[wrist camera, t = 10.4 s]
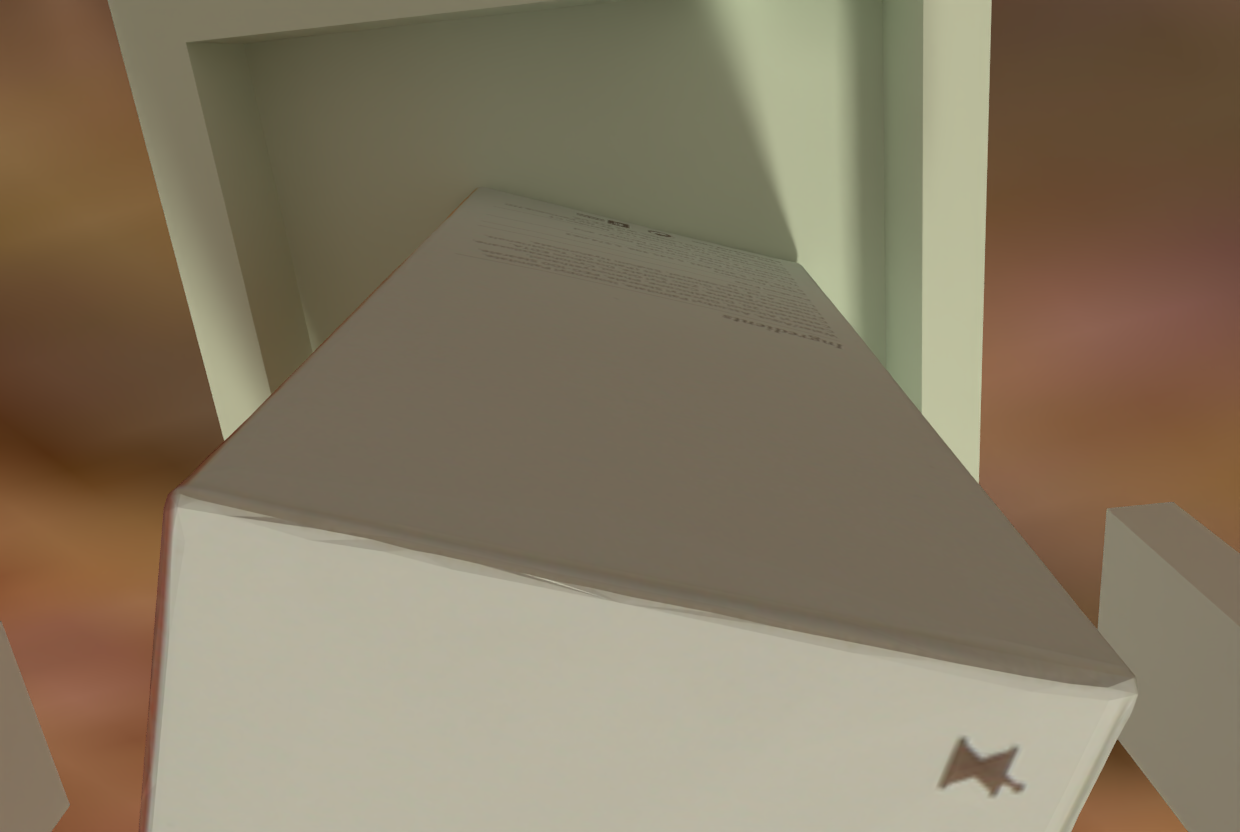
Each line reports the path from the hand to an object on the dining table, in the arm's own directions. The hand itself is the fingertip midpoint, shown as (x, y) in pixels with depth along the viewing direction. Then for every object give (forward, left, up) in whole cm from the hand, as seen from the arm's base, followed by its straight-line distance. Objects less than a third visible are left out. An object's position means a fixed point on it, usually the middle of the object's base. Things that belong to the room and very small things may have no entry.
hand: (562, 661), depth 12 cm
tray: (0, 0, -9) cm, 9 cm away
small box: (0, 0, -8) cm, 8 cm away
